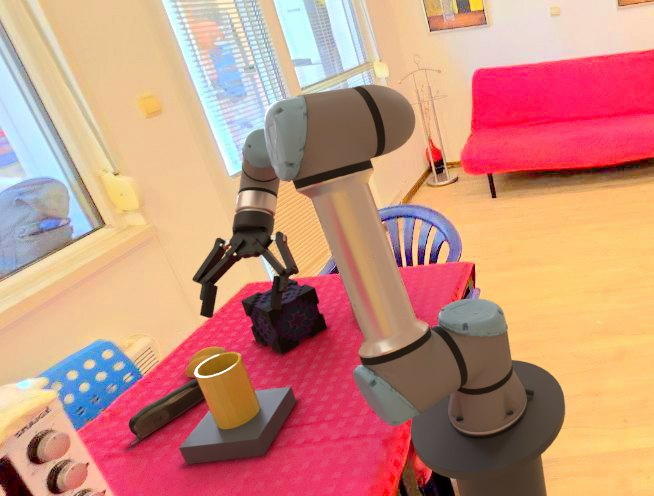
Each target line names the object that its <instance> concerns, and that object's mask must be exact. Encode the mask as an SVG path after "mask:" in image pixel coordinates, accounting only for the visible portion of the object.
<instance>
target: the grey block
mask: <svg viewBox="0 0 654 496" xmlns="http://www.w3.org/2000/svg"><path fill="white" fill-rule="evenodd" d="M255 392H256V395H257V398H258V400H259V404H260V410H259V412H258V413H257V414H256V416H255V417H253V418H252V419H251V420H250V421H248V422H247V423H245V424H243V425H241V426H238V427H236V428H232V429H220V428H218V427H217V425H216V423H215V421H214V419H213V417H212V414H211V412H210V410H208V411H207V412H206V413H205V414H204V416H203V417H202V418H201V420H200V421H199V422H198V423H197V425H196V426H195V427H194V428H193V430H192V431H191V432H190V434H188V436H187V437H186V438H185V440H184V441H183V442H182V443H181V445H180V446H179V447H178V449H179V452H180V454H181V456H182V457H183V460H184V462H185V464H186V465H194V464H201V463H211V462H220V461H227V460H236V459H245V458H251V457H252V458H253V457H260V456H265V454H266V453H267V451H268V450H269V448H270V446H271V445H272V444H273V441H274V439H276V436H277V434H278V433H279V432H280V430H281V428H282V427H283V424H284V423H285V422H286V420H287V418H288V417H289V414H290V413H291V411H292V410H293V408H294V407H295V405H296V403H297V400H296V397H295V394H294V391H293V388H292V386H282V387H273V388H266V389H257V390H255Z"/></svg>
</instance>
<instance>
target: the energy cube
mask: <svg viewBox="0 0 654 496" xmlns="http://www.w3.org/2000/svg"><path fill="white" fill-rule="evenodd" d="M271 294H272V288H270V289H268V290H266V291H264V292H260V291H258V292H256V293H254V294H252V295H250V296H247V297H245V298H243V299H241V300H240V302H241V305H242V307H243V310H244V313H245V316H246V317H248V318H250V320H251V321H250V322H251V323H252V325H251V326H250V329H251V332H252V335H253V337H254V341H255V342H256V343H258V344H260V345H262V346H264V347H267V346H271V349H272V351H274V352H276V353H278V354H280V355H284V354H286V353H288V352H290V351H291V350H293V349H295V348H297V347H298V346H300V342H301V341H303V340H305V339H306V338H308V337H310V338H313V337H315V336H316V335H318V334H320V333H322V332H323V331H325V330H327V329H328V327H327V323H326V320H325V316H324V314H323V313H322V312H320V310H319V306H318V305H319V304H320V300H319V297H318V293H317V290H316V288H315V287H314V286H311V285H308V284H302V285H300V284H299V282H298V281H297V280H295V279H291V278H290V277H289V278H288V285H287V291H286V293H283V295H282V304H281V310H275V309H273V308H270V302H271Z"/></svg>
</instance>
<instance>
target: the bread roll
mask: <svg viewBox="0 0 654 496" xmlns="http://www.w3.org/2000/svg"><path fill="white" fill-rule="evenodd" d="M225 352H228V351H227V349H225V348H223V347H220V346H215V345H214V346H207V347H204V348H202V349H200V350H198V351H196V352H195V353H194V354H193V355H192V357H190V358H189V360H188V365H187V366H186V368H185V372H184V373H185V376H186V377H188V378H192V379H195V375H194V372H195V369H196V368H197V367H198V366H199V365H200V364H201V363H202V362H204V361H205V360H207V359H209V358H211V357H213V356H215V355H218V354H221V353H225Z"/></svg>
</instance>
